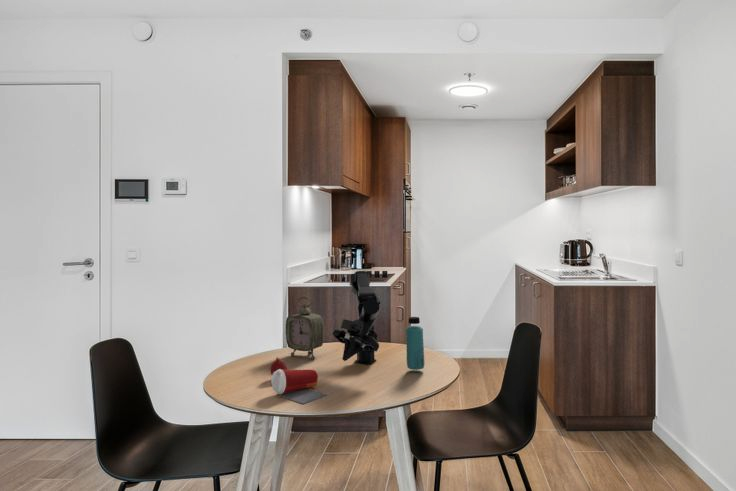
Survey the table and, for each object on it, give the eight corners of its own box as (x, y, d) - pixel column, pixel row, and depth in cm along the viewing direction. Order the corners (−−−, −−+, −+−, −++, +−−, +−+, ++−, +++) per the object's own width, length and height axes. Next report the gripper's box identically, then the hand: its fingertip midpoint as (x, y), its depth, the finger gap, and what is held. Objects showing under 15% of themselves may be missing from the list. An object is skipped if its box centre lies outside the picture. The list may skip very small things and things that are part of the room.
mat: (276, 394, 150) (276, 394, 150) (300, 386, 158) (300, 385, 158) (303, 404, 142) (303, 403, 142) (327, 395, 149) (327, 394, 149)
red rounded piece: (289, 377, 168) (289, 355, 167) (281, 382, 162) (281, 360, 162) (275, 376, 170) (274, 354, 169) (267, 381, 164) (266, 358, 164)
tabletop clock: (286, 356, 195) (284, 297, 194) (300, 351, 203) (298, 294, 202) (313, 361, 188) (311, 299, 187) (327, 355, 195) (325, 296, 194)
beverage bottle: (424, 374, 168) (422, 318, 167) (405, 373, 169) (404, 318, 168) (425, 369, 174) (423, 315, 174) (407, 368, 175) (406, 315, 175)
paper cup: (310, 362, 160) (273, 365, 151) (321, 373, 154) (284, 376, 145) (305, 383, 161) (268, 386, 152) (316, 394, 155) (278, 399, 146)
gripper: (335, 307, 172) (313, 343, 165) (373, 313, 159) (351, 353, 152) (350, 324, 178) (330, 359, 171) (388, 332, 166) (367, 370, 158)
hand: (343, 360), depth 163 cm, fingers closed
